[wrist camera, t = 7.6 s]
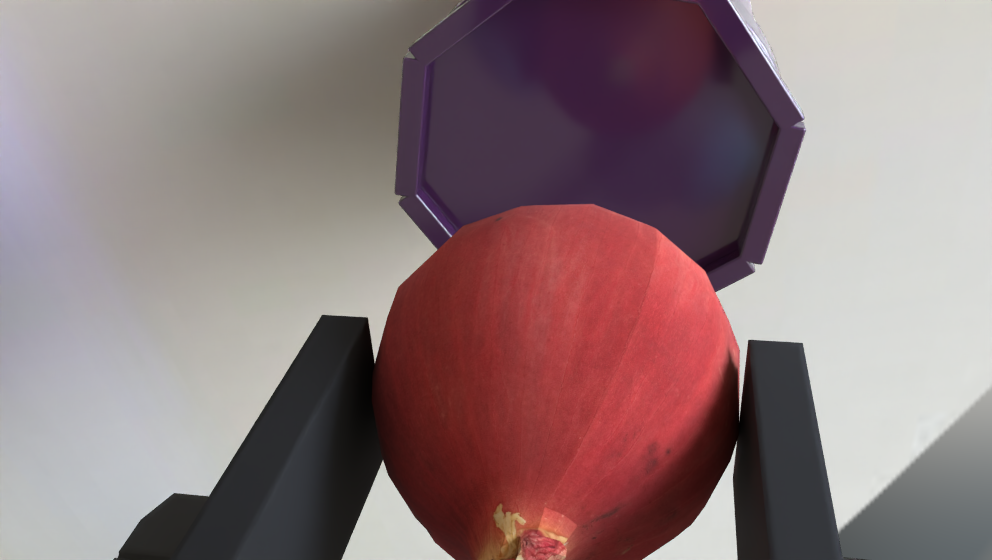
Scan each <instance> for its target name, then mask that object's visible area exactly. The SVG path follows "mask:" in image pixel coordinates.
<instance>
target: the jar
mask: <svg viewBox="0 0 992 560" xmlns="http://www.w3.org/2000/svg"><path fill="white" fill-rule="evenodd" d="M408 49H409V51H410V52H409V53H407V54H406V56H405V57H404V58H403V66H402V82H401V98H400V114H399V130H398V146H397V162H396V179H395V194H396V195H401V196H402V197H401V199H400V200H399V202H398V203H399V205H400V206H401V207H402V208H403V210H404V211H405V212H406V213H407V214H408V215H409V217H410V218H411V219H412V220H413V221H414V223H415V224H416V225H417V226H418V227H419V228H420V230H421V231H422V232H423V233H424V234H425V235H426V237H427V238H428V239H429V240H430V241H431V242H432V244H433V245H434V246H435V247H436V248H437V250H438V249H439V248H440V247H441V246H442V245H443V244H444V243H445V242H447V241H448V240H449V239H450V238H451V237H452V236H453V235H454V234H455V233H456V232H457V231H458V230H459V229H460V228H461V227H462V226H464V225H467V224H470V223H473V222H476V221H479V220H482V219H485V218H488V217H491V216H494V215H497V214H500V213H503V212H505V211H508V210H511V209H514V208H517V207H520V206H532V205H568V204H595V205H597V206H600V207H602V208H605V209H608V210H610V211H613V212H616V213H618V214H621V215H623V216H626V217H629V218H631V219H634V220H637V221H639V222H642V223H644V224H647V225H649V226H652V227H654V228H656V229H657V230H658V231H660V232H661V233H662V234H663V235H664V236H665V237H667V238H668V239H669V240H670V241H671V242H672V243H673V244H675V245H676V246H677V247H678V248H679V249H680V250H681V251H683V252H684V253H685V254H686V255H687V256H688V257H690V258H691V259H692V260H693V261H694V262H695V263H696V264H698V265H699V266H700V267H701V268H702V269H703V270H704V271H705V272H706V274H707V276H708V278H709V281H710V283H711V285H712V287H713V289H714V291H715V292H717V291H719V290H721V289H723V288H725V287H727V286H729V285H730V284H732V283H734V282H736V281H738V280H740V279H742V278H744V277H746V276H748V275H750V274H752V273H754V272H755V267H754V263H755V264H762V263H763V260H764V257H765V254H766V251H767V248H768V245H769V242H770V239H771V236H772V233H773V230H774V227H775V224H776V221H777V218H778V214H779V211H780V208H781V205H782V202H783V199H784V196H785V193H786V190H787V187H788V184H789V181H790V178H791V175H792V172H793V169H794V166H795V162H796V159H797V156H798V153H799V150H800V147H801V144H802V141H803V138H804V135H805V132H806V128H805V125H804V123H803V122H801V121H802V120H804V114H803V111H802V109H801V108H800V106H799V104H798V103H797V101H796V100H795V98H794V97H793V95H792V93H791V92H790V90H789V89H788V87H787V86H786V84H785V82H784V81H783V79H782V78H781V74H780V71H779V68H778V65H777V62H776V60H775V57H774V54H773V51H772V49H771V47H770V45H769V43H768V41H767V39H766V37H765V36H764V34H763V32H762V30H761V28H760V26H759V25H758V24H757V22H756V21H755V19H754V14H753V10H752V6H751V1H750V0H460V2H459V3H458V4H457V5H456V6H455V7H454V9H453V10H452V11H451V12H450V13H449V15H448V16H446V17H445V18H444V19H442V20H441V21H440V22H439V23H437V24H436V25H435V26H434V27H432V28H431V29H430V30H428V31H427V32H426V33H425V34H423V35H422V36H421V37H419V38H418V39H417V40H416V41H414V42H413V43H412V44H411V45H410V47H409V48H408Z"/></svg>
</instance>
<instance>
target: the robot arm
mask: <svg viewBox="0 0 992 560" xmlns="http://www.w3.org/2000/svg"><path fill="white" fill-rule="evenodd" d="M374 366H375V363H374V356H373V349H372V343H371V336H370V330H369V323H368V318H366V317H348V316H331V315H322V316H321V318H320V319H319V321H318V323H317V324H316V326H315V327H314V329H313V331H312V332H311V334H310V335H309V337H308V339H307V340H306V342H305V343H304V345H303V347H302V348H301V350H300V351H299V353H298V355H297V356H296V358H295V359H294V361H293V363H292V364H291V366H290V368H289V369H288V371H287V372H286V374H285V376H284V377H283V379H282V380H281V382H280V384H279V385H278V387H277V388H276V390H275V392H274V393H273V395H272V396H271V398H270V400H269V401H268V403H267V404H266V406H265V408H264V409H263V411H262V412H261V414H260V416H259V417H258V419H257V420H256V422H255V424H254V425H253V427H252V428H251V430H250V432H249V433H248V435H247V436H246V438H245V440H244V441H243V443H242V444H241V446H240V448H239V449H238V451H237V452H236V454H235V456H234V457H233V459H232V460H231V462H230V464H229V465H228V467H227V468H226V470H225V472H224V473H223V475H222V476H221V478H220V480H219V481H218V483H217V485H216V486H215V488H214V489H213V491H212V493H211V494H210V496H209V497H208V496H198V495H187V494H177V493H174V494H173V495H171V496H170V497H169V498H168V499H166V500H165V501H164V502H163V503H161V504H160V505H159V506H158V507H156V508H155V509H154V510H153V511H151V512H150V513H149V514H148V515H146V516H145V517H144V518H143V519H141V520H140V522H139V523H138V525H137V526H136V528H135V529H134V531H133V532H132V533H131V535H130V536H129V538H128V539H127V541H126V542H125V544H124V545H123V546H122V548H121V549H120V551H119V556H118V558H114V559H113V560H341V559H342V557H343V554H344V552H345V549H346V547H347V545H348V542H349V540H350V537H351V535H352V533H353V530H354V528H355V525H356V523H357V521H358V518H359V516H360V513H361V511H362V509H363V506H364V504H365V501H366V499H367V497H368V494H369V492H370V489H371V487H372V485H373V482H374V480H375V478H376V475H377V473H378V470H379V468H380V466H381V463H382V461H383V457H382V454H381V449H380V444H379V438H378V433H377V427H376V422H375V416H374V411H373V405H372V375H373V369H374ZM733 488H734V505H735V522H736V538H737V555H738V560H865V559H855V558H845V557H842V552H841V547H840V541H839V536H838V530H837V525H836V520H835V514H834V509H833V504H832V498H831V493H830V488H829V482H828V477H827V471H826V466H825V461H824V455H823V450H822V445H821V439H820V434H819V428H818V423H817V418H816V412H815V407H814V402H813V396H812V391H811V386H810V380H809V375H808V369H807V364H806V359H805V353H804V348H803V343H793V342H776V341H759V340H748V349H747V358H746V367H745V375H744V384H743V393H742V402H741V411H740V420H739V436H738V439H737V447H736V455H735V464H734V473H733Z"/></svg>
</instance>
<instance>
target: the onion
mask: <svg viewBox="0 0 992 560" xmlns="http://www.w3.org/2000/svg"><path fill="white" fill-rule="evenodd" d="M739 359H740V350H739V347H738V345H737V342H736V339H735V336H734V334H733V331H732V328H731V326H730V323H729V320H728V318H727V316H726V314H725V312H724V310H723V308H722V306H721V304H720V301H719V299H718V297H717V295H716V293H715V291H714V289H713V287H712V285H711V283H710V281H709V278H708V276H707V274H706V272H705V271H704V270H703V269H702V268H701V267H700V266H699V265H698V264H696V263H695V262H694V261H693V260H692V259H691V258H690V257H688V256H687V255H686V254H685V253H684V252H683V251H681V250H680V249H679V248H678V247H677V246H676V245H675V244H673V243H672V242H671V241H670V240H669V239H668V238H667V237H665V236H664V235H663V234H662V233H661V232H660V231H658V230H657V229H656V228H654V227H652V226H649V225H647V224H644V223H642V222H639V221H637V220H634V219H631V218H629V217H626V216H623V215H621V214H618V213H616V212H613V211H610V210H608V209H605V208H602V207H600V206H597V205H595V204H568V205H532V206H520V207H517V208H514V209H511V210H508V211H505V212H503V213H500V214H497V215H494V216H491V217H488V218H485V219H482V220H479V221H476V222H473V223H470V224H467V225H464V226H462V227H461V228H460V229H459V230H458V231H457V232H456V233H455V234H454V235H453V236H452V237H451V238H450V239H449V240H448V241H447V242H445V243H444V244H443V245H442V246H441V247H440V248H439V249H438V250H437V251H436V252H435V253H434V254H433V255H432V256H431V257H430V258H429V259H428V260H427V261H425V262H424V263H423V264H422V265H421V266H420V267H419V268H418V269H417V270H416V271H415V272H414V273H413V274H412V275H411V276H410V277H409V278H408V279H406V280H405V281H404V282H403V283H402V284H401V285H400V286H399V287H398V290H397V293H396V295H395V298H394V301H393V303H392V306H391V309H390V312H389V314H388V317H387V321H386V325H385V328H384V332H383V336H382V340H381V343H380V347H379V351H378V354H377V358H376V362H375V366H374V369H373V375H372V405H373V411H374V416H375V422H376V427H377V433H378V438H379V444H380V449H381V454H382V457H383V460H384V463H385V466H386V470H387V473H388V476H389V477H390V479H391V480H392V482H393V483H394V485H395V487H396V488H397V490H398V491H399V493H400V494H401V496H402V498H403V499H404V501H405V502H406V504H407V505H408V507H409V509H410V510H411V512H412V513H413V515H414V516H415V518H416V519H417V520H418V521H419V522H420V523H421V524H422V525H423V526H424V527H425V528H426V529H427V531H428V532H429V534H430V535H431V537H432V538H433V540H434V542H435V543H436V544H438V545H439V546H440V547H441V548H442V549H443V550H445V551H446V552H447V553H448V554H449V555H450V556H452V557H453V558H454V559H455V560H642V559H644V558H645V557H647V556H648V555H650V554H651V553H653V552H654V551H656V550H657V549H659V548H660V547H662V546H663V545H665V544H666V543H668V542H669V541H671V540H672V539H674V538H675V537H676V536H678V535H679V534H680V533H681V532H682V531H684V530H685V529H686V528H687V527H689V526H690V525H691V524H692V523H693V522H694V520H695V519H696V518H697V516H698V515H699V514H700V512H701V511H702V510H703V508H704V507H705V505H706V504H707V502H708V500H709V498H710V496H711V495H712V493H713V491H714V489H715V487H716V486H717V484H718V482H719V480H720V478H721V477H722V475H723V473H724V471H725V469H726V468H727V466H728V464H729V462H730V460H731V457H732V454H733V451H734V448H735V445H736V442H737V439H738V436H739Z"/></svg>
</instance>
